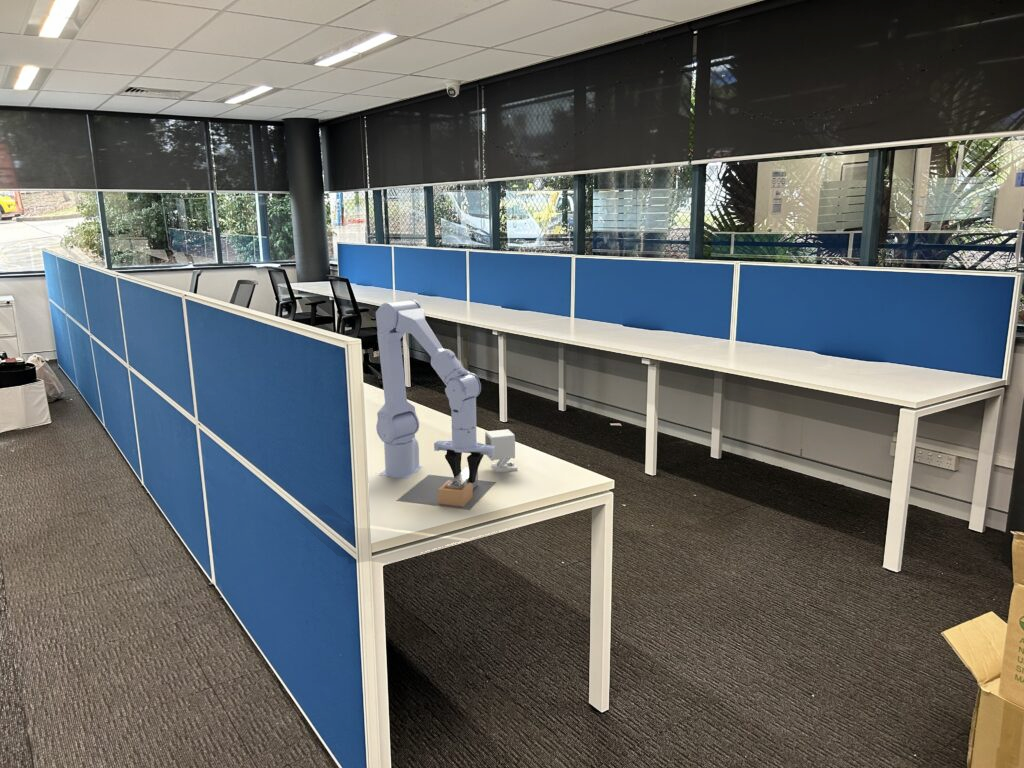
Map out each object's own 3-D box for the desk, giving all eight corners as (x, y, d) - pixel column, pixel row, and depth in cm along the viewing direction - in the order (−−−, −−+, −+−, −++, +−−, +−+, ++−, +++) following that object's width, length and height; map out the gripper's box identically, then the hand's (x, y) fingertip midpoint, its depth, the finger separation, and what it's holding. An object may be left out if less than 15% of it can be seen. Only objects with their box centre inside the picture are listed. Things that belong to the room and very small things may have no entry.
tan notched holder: (448, 494, 173) (448, 480, 172) (472, 497, 171) (472, 483, 170) (438, 503, 167) (438, 489, 167) (463, 506, 166) (463, 491, 165)
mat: (428, 476, 186) (428, 474, 186) (496, 484, 181) (496, 482, 181) (396, 502, 169) (396, 500, 169) (469, 511, 164) (469, 509, 164)
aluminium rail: (466, 482, 179) (466, 466, 178) (478, 483, 179) (477, 468, 178) (447, 501, 168) (447, 485, 167) (459, 503, 168) (459, 486, 167)
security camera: (485, 467, 192) (484, 430, 190) (510, 464, 195) (510, 428, 192) (491, 475, 187) (491, 437, 184) (518, 472, 189) (518, 435, 186)
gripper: (428, 428, 170) (429, 484, 173) (487, 433, 165) (488, 491, 168) (440, 420, 176) (441, 474, 179) (497, 425, 172) (498, 480, 175)
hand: (465, 481), depth 174 cm, fingers closed on aluminium rail, 3 cm apart
